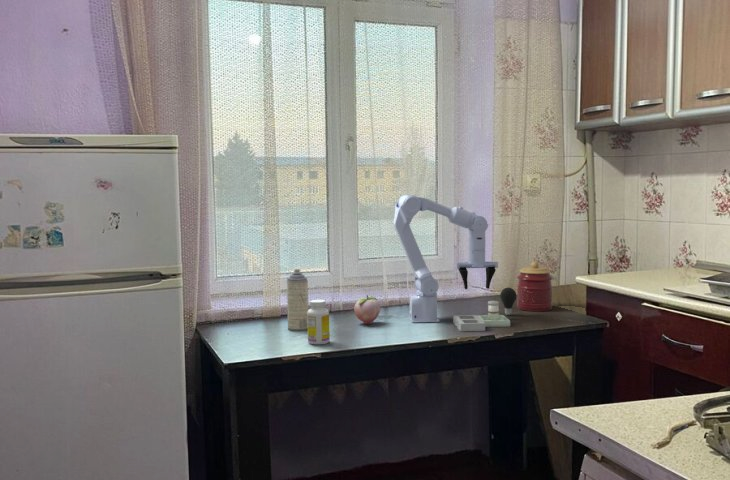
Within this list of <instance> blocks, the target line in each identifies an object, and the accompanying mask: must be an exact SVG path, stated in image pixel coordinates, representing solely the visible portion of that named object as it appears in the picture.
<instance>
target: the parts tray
mask: <svg viewBox="0 0 730 480" xmlns="http://www.w3.org/2000/svg"><path fill="white" fill-rule="evenodd" d="M476 315H477V314H476ZM477 316H478V317H479V318H480V319H481V320H482V321H483V322H484V323H485V328H496V327H497V328H500V327H502V328H503V327H504V328H505V327H506V328H507V327H511V320H510V319H509V318H508V317H506V316H505V315H503V314H499V320H491V321H488V314H485V315H477Z"/></svg>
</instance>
